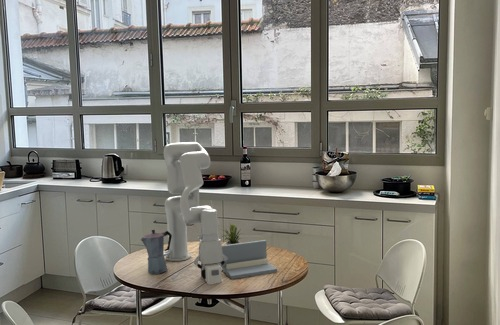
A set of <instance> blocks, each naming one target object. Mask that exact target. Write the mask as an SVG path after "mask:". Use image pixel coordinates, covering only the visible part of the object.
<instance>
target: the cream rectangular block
mask: <svg viewBox="0 0 500 325" xmlns="http://www.w3.org/2000/svg"><path fill="white" fill-rule="evenodd" d="M204 269H205V275H206V279H204V278H203V280H204V281H205V283H207V284H208V285H214V284H221V283H222V282H223V278H222V267H221V266H220V265H219V264H218V263H213V264H206V265H205V268H204Z"/></svg>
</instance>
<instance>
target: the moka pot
mask: <svg viewBox="0 0 500 325" xmlns="http://www.w3.org/2000/svg"><path fill="white" fill-rule="evenodd" d="M168 235H169V240H168V239H167V242H168V243H167V247H166V248H165V249H164V243H165V242H164V240H165V239H164V238H165V237H166V236H168ZM171 238H172V235H171V234H170V233H169V232H168V230H165V231H162V232H156V230H155V229H151V233H147V234H146V235H144V236H143V237H141V238H140V241H141V242H142V243H143V245H144V246H145V248H146V249H145V250H146V252H147V256H148V257H147V273H148V274H150V275H151V274H152V275H157V274H162V273H165V272H166V271H167V270H168V267H167V261H166V257H165V256H164V255H163V252H164V251H168V250H169V248H170V242H171Z"/></svg>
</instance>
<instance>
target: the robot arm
mask: <svg viewBox="0 0 500 325" xmlns="http://www.w3.org/2000/svg"><path fill="white" fill-rule="evenodd" d="M163 158H164V162H165V164H166V185H167V186H166V188H167V191H168V193H169V194H171V195H175V196H170V197H168V198H166V199H165V201H164V210H165V215H166V224H167V231H168V232H169V233H170V234H171V235H172V238H171V242H170V248H169V250H168V251H165V250H163V255H164V257H165V260H167V261H171V262H181V261H186V260H189V259H190V258H191V257H192V254H191V253H190V252H189V251H188V250H189V249H188V234H187V232H188V231H187V230H188V228H187V225H196V224H200V235H198V236H197V239H198V240H199V245H198V256H196V258H195V259H194V260H193V261H192V262H193V264H194V265H195V266H196V267H198V268H199V269H200V274H201V275H200V276H201V277H202V278H203V280H204V279H206V275H205V269H204V268H205V265H206V264H213V263H218V264H219V265H220V266H221V268H222V265H223V264H224V263H225V261H226V260H227V259H228V258H227V257H226V256H225V255H224V254H223V252H222V241H221V238H219V219H218V210H217V209H215V208H213V207H212V206H210V205H200V188H201V187H202V186H203V185H204V180H203V175H202V170H206V169H208V168H210V166H211V157H210V154H209V153H208V151H207V150H206V149H205V148H204V147H203V146H202V145H201V144H200V143H199V142H196V141H187V142H186V141H185V142H173V143H169V144H166V145H165V147H164V148H163ZM168 240H169V235H167V241H168ZM199 262H200V263H199Z"/></svg>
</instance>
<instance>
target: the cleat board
mask: <svg viewBox="0 0 500 325" xmlns="http://www.w3.org/2000/svg"><path fill="white" fill-rule="evenodd" d="M221 245H222V244H221ZM222 252H223V254H224V255H225V256H226V257H227V258H228V259H227V260H226V261H225V263H224V264H223V265H222V267H221V271H223V272H224V273H225V274H226V275H227V276H228V277H229V278H230V279H231V280H235V279H240V278H247V277H248V278H249V277H253V276H259V275H268V274H273V273H277V272H278V268H277V267H276V266H274V265H273V264H271V263H270V262H268V257H267V240H266V239H262V240H254V241H248V242H247V241H245V242H240V243H237V244H230V245H227V244H225V245H224V244H223V245H222Z"/></svg>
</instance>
